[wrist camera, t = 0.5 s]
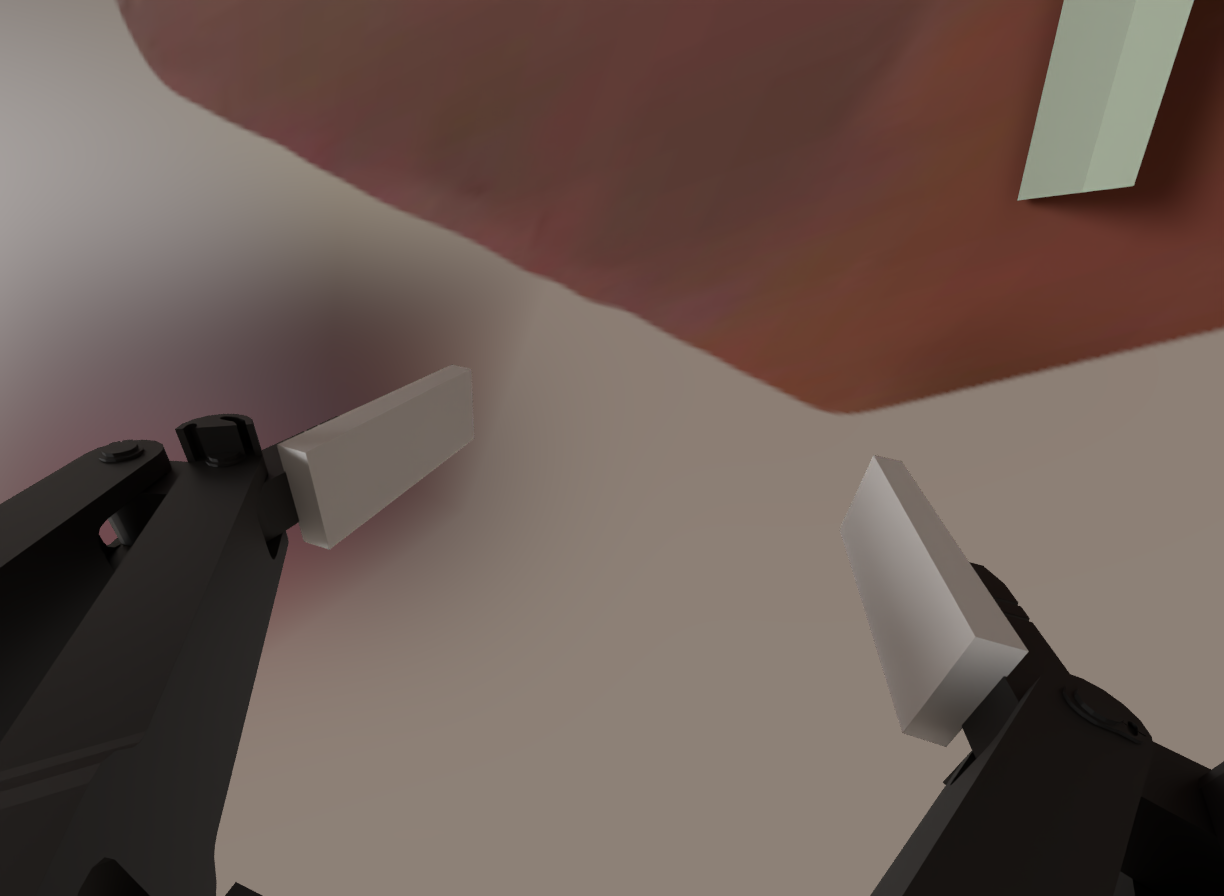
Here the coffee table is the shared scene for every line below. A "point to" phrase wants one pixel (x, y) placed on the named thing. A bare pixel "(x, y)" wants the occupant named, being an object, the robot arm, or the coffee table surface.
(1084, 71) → the gate
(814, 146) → the coffee table surface
